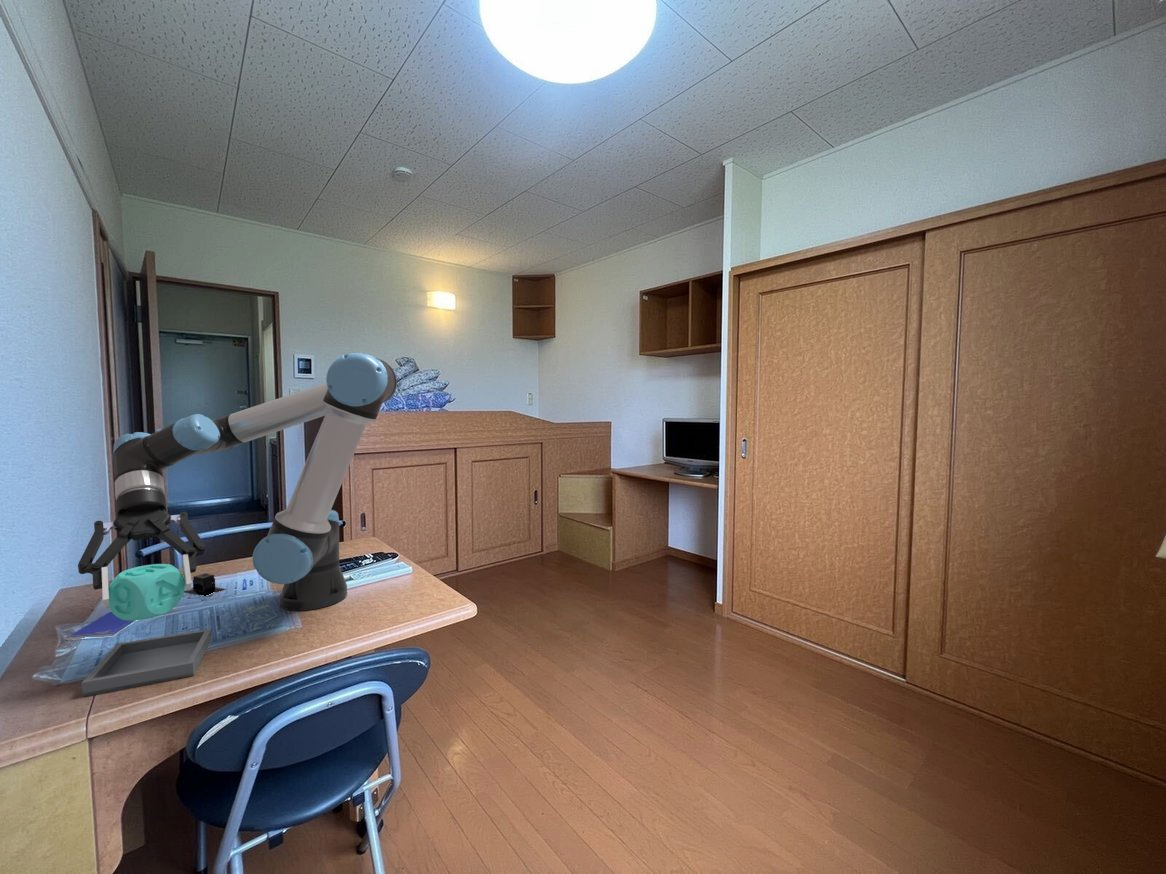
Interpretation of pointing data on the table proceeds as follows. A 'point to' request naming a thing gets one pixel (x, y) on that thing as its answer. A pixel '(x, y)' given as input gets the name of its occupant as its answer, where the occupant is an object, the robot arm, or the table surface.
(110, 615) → the purple flat rectangle
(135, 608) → the decorative dice
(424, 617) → the table surface
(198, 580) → the black boxy piece
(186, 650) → the tray
